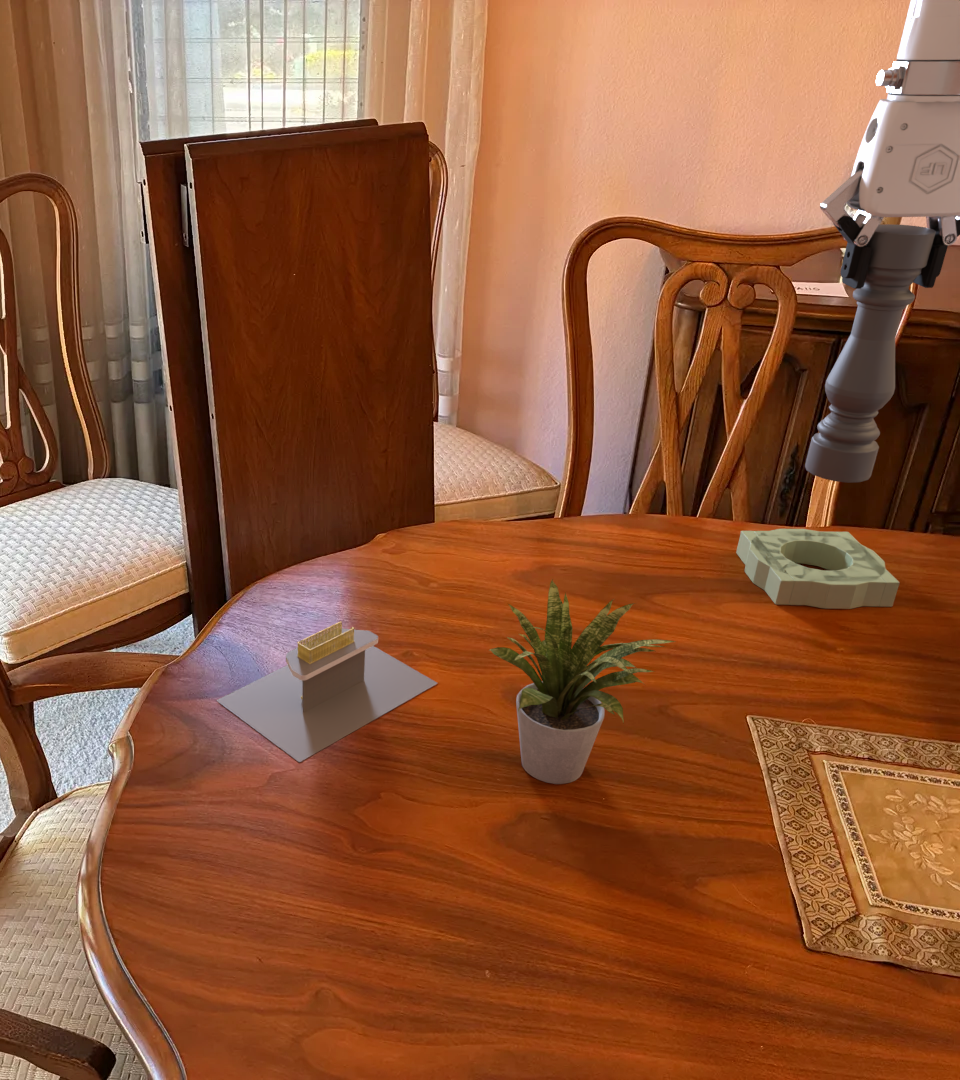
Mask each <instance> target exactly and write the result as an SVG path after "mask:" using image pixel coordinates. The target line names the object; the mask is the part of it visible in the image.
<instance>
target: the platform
mask: <svg viewBox="0 0 960 1080" xmlns="http://www.w3.org/2000/svg"><path fill="white" fill-rule="evenodd" d="M378 643H379V636H378V634H377V633H374V632H372V631H370V630H365V629H355V627H354V626H351V627H350V628H343V622H342V621H341V620H340V621H338V622H335V623H334V624H332V625H330V626H328V627H325V628H324V629H322V630H319V631H317V632H315V633H313V634H311V635H309V636H307V637H304V638H303V639H301V640H299V641H297V642H296V644H297V647H295V648H293V649H292V650H289V651H288V652H287V653H286V654H285V663H286V664H285V666H283V667H280V668H279V669H276V670H275V671H272V672H271V673H269V674H266V675H264V676H262V677H260V678H258V679H257V680H254V681H252V682H250V683H248V684H246V685H244V686H242V687H240V688H237V689H236V690H234V691H232V692H230V693H228V694H226V695H224V696H222V697H220V698H218V699H216V702H217V703H219V704H220V705H221V706H223V707H224V708H225V709H227V710H228V711H229V712H231V713H232V714H234V715H235V716H236V717H238V718H239V719H240V720H242V722H244V723H245V724H247V725H248V726H250V727H251V728H252V729H254V730H255V731H256V732H258V733H260V735H262V736H263V737H264V738H266V739H267V740H268V741H270V743H272V744H274V745H275V746H277V748H279V749H281V750H282V751H283V752H285V754H287V755H289V756H290V757H291V758H292V759H294V760H296V762H298V763H301V762H303V761H305V760H306V759H308V758H310V757H312V756H313V755H315V754H317V753H319V752H320V751H322V750H324V749H326V748H327V747H329V746H331V745H332V744H335V743H336V742H338V741H339V740H341V739H343V738H345V737H346V736H348V735H349V734H352V733H354V732H355V731H357V730H359V729H361V728H362V727H364V726H366V725H368V724H369V723H371V722H373V721H375V720H376V719H379V718H380V717H382V716H383V715H385V714H387V713H389V712H390V711H392V710H394V709H395V708H397V707H399V706H401V705H403V704H404V703H406V702H408V701H410V700H412V699H413V698H415V697H416V696H418V695H420V694H422V693H424V692H425V691H427V690H429V689H431V688H433V687H434V686H436V685H437V684H438V682H437V681H435V680H434V679H432V678H430V677H429V676H427V675H425V674H424V673H421V672H419V671H418V670H416V669H414V668H413V667H411V666H409V665H408V664H406V663H404V662H403V661H401V660H399V659H397V658H395V657H394V656H392V655H390V654H389V653H386V652H385V651H383V650H382V649H380V648H378V647H376V646H375V645H377V644H378Z"/></svg>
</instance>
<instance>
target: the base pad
mask: <svg viewBox="0 0 960 1080" xmlns="http://www.w3.org/2000/svg"><path fill="white" fill-rule="evenodd" d="M735 553H736V555H737V556H738V557H739V558H740V560H741V562H742V563H743V564H744V573H745V574H746V576H747V577H748V578H749V580H750V581H751V582H752V584H754V585H755V586H756V587H758V588H760V589H761V590H763V591H764V592H765V593H766V594H767V595H768V597H769V598H770V599H771V601H772V602H773V603H774V605H776V606H777V605H778V606H779V605H780V606H806V607H807V606H808V607H814V608H817V609H818V608H819V609H826V610H828V609H831V610H832V609H833V610H835V609H836V610H851V609H857V608H860V607H882V608H883V607H885V608H890V607H891V608H892V607H893V606H894V603H895V600H896V596H897V592H898V589H899V586H900V581H899V580H898V579H897V578H896V577H895V576H894V575H893V574H892V573H891V572H890V571H889V570H887V568H886V562H885V560H884V559H883V558H881V556H879V554H877V553H876V552H875V551H874V550H873V549H871V548H869V547H867V546H865V545H863V544H861V543H860V542H859V540H857V539H856V538H855V537H854V536H853V534H851V533H850V532H849V531H820V530H814V529H807V528H776V529H771V530H740V533H739V539H738V543H737V547H736V551H735ZM801 564H802V565H801ZM804 565H810V566H815V567H818V568H821V569H818V568H812V567H807V566H804ZM823 569H824V570H823Z"/></svg>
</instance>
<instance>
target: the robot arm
mask: <svg viewBox="0 0 960 1080" xmlns="http://www.w3.org/2000/svg"><path fill="white" fill-rule="evenodd" d="M895 59H896V60H895V61H893V62H892V67H890V68H888V69H881V70H879V71H878V73H877V75H876V79H875V85H876V86H877V87H884V88H886V92H885V93H887V96H886V98H881V99H879V101H878V103H877V104H876V106H875V109H874V110H873V113H872V115H871V117H870V120H869V122H868V123H867V125H866V126H867V127H866V129H865V132H864V134H863V136H862V139H861V142H860V145H859V148H858V150H857V154H856V157H855V160H854V164H853V167H852V171H851V173H850V177H849V178H848V179H846V181H844V182H843V183H842V184H841V185H840V186H839V187H837V188H836V189H835V190H834V191H833V192H832V193H831V194H830V195H829V196H827V198H825V199H824V200H822V202H820V205H819V209H820V210H821V212H822V213H823V214H824V215H825V216H826V217H827V218H828V219H829V220H830V221H831V222H832V224H833V226H834V227H835V228H836V229H837V231H838V232H839V233H840V234H841V236H842V239H843V240H844V241H845V242H847V243H846V247H845V251H844V254H843V258H842V259H843V260H842V263H841V267H840V277H841V283H842V284H844V285H846V286H848V287H850V288H852V289H854V290H856V289H861V288H862V287H863V286H864V284H865V280H866V276H867V272H868V268H869V264H870V260H871V256H872V252H873V248H872V247H871V246H868V244H869V241H870V239H871V237H872V236H873V234H874V233H875V231H876V229H877V228H878V226H879V225H881V223H882V221H883V220H884V218H924V217H925V222H926V228H930V229H933V230H935V231H936V233H935V237H934V241H933V244H932V248H931V251H930V255H929V259H928V262H927V265H926V266H925V267H924V268H922V270H921V274H920V275H919V276H918V277H916V278H915V280H914V282H913V283H914V284H916V285H918V286H920V287H923V288H925V289H932V288H933V287H934V286H935V284H936V281H937V278H938V277H939V276H940V275H941V272H942V269H943V265H944V261H945V258H946V255H947V250H948V247H949V246H952V245H954V244H955V243H956V241H957V239H958V237H960V0H909V5H908V9H907V14H906V17H905V21H904V26H903V30H902V34H901V38H900V42H899V46H898V50H897V55H896V58H895ZM846 205H847V206H848V207H849V208H851V209H853V210H856V213H854V216H851V215H849V214H848V212H847V211H846ZM913 283H912V284H913Z"/></svg>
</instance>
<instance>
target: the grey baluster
mask: <svg viewBox="0 0 960 1080" xmlns="http://www.w3.org/2000/svg"><path fill="white" fill-rule="evenodd" d="M935 233H936V231H935V230H933V229H930V228H927V226H926V227H925V226H924V227H923V226H919V225H912V224H911V225H910V224H909V225H908V224H893V223H891V224H889V223H888V224H887V223H885V224H880V225H879V226H878V228H877V229H876V231H875V233H874V234H873V236H872V237H871V239H870V241H869V244H868V246H871V247H872V248H873V252H872V256H871V260H870V264H869V268H868V272H867V276H866V280H865V284H864V286H863V287H862V288H861V289H854V290H853V292H852V298H853V299H854V300H855V301H856V305H857V308H856V312H855V316H854V318H853V319H854V320H853V324H852V327H851V331H850V334H849V336H848V338H847V340H846V342H845V344H844V346H843V347H842V350H841V352H840V353H839V355H838V358H837V359H836V361H835V363H834V365H833V366H832V368H831V370H830V372H829V374H828V376H827V378H826V380H825V384H824V391H825V394H826V397H827V400H828V402H829V405H828V409H829V411H830V413H828V414H827V415H826V416H825V417H824V418H822V419H821V420H820V421H819V422H818V423H817V427H816V428H817V431H818V432H816V433H815V434H813V436H812V437H811V439H810V440H811V441H810V444H809V448H808V451H807V456H806V459H805V464H804V468H805V470H806V471H807V472H808V473H810V474H811V475H813V476H815V477H818V478H820V479H823V480H828V481H832V482H838V483H849V484H850V483H851V484H852V483H861V482H866V481H869V479H870V478H871V477H872V475H873V470H874V467H875V463H876V460H877V456H878V452H879V449H880V446H879V444H878V442H877V441H876V440H877V439H878V438H879V436H880V435H881V431H880V429H879V428H878V425H877V423H876V421H875V419H874V418H876V417H877V416H878V414H879V411H880V410H881V409H882V408H883V407H884V406H885V405H886V404H887V403H888V402H890V400H891V398H892V397H893V395H894V394H895V390H896V338H897V333H898V330H899V326H900V321H901V319H902V315H903V311H904V310H905V309H906V308H907V306H909V305H911V304H912V303H913V302H914V301H915V298H916V295H915V293H913V292H912V291H911V290H910V286H911V285H912V284H913V282H914V280H915V278H916V277H918V276H919V275H920V274H921V270H922V268H924V267H925V266H926V265H927V262H928V259H929V255H930V251H931V248H932V244H933V241H934V237H935Z"/></svg>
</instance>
